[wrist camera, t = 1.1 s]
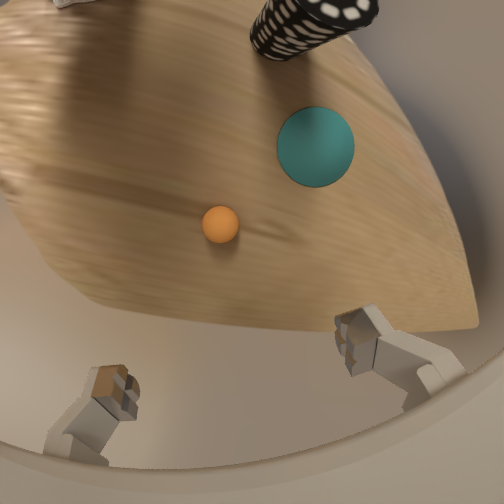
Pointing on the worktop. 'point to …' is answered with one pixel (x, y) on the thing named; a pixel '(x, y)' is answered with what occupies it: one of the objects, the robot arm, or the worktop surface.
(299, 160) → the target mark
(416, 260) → the worktop surface
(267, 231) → the worktop surface
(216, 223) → the ball
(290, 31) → the spotted tube
